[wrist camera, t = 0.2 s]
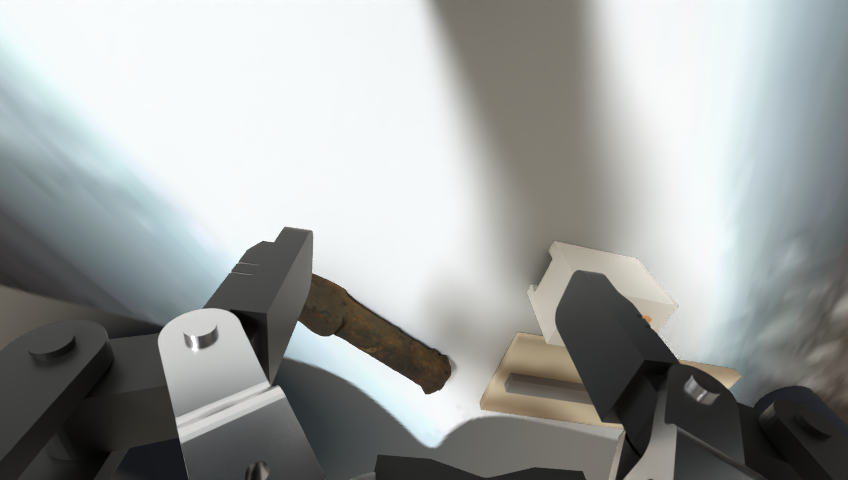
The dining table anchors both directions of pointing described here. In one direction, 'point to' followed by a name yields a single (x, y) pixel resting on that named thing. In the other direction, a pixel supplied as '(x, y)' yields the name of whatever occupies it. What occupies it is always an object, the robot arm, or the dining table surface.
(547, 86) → the dining table surface
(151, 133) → the dining table surface
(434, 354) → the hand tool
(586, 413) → the rail board
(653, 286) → the block
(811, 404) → the wine bottle
